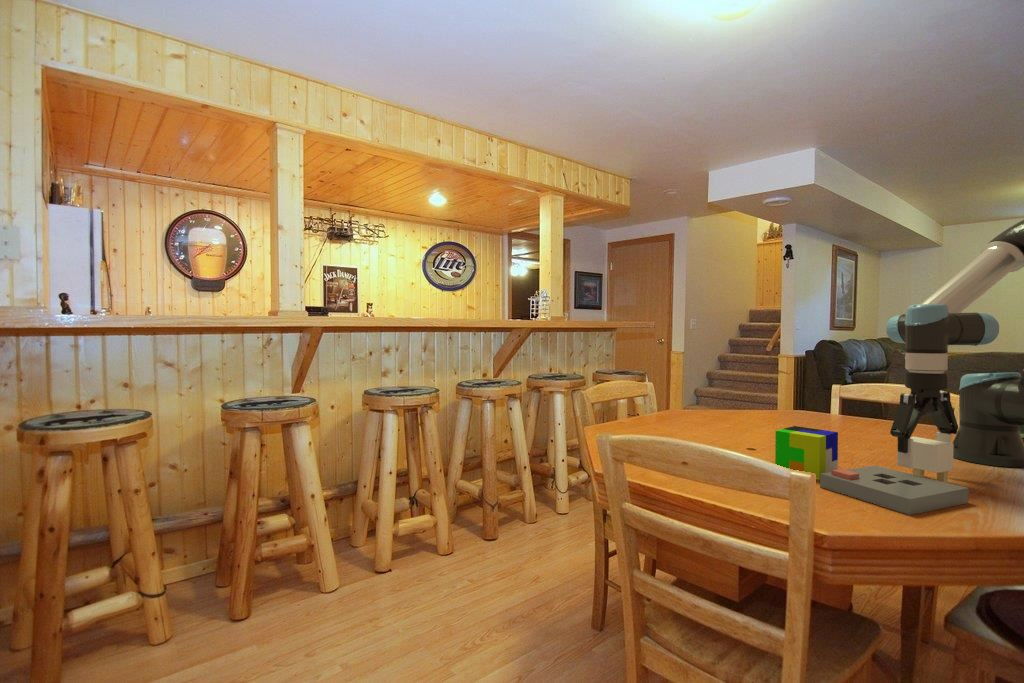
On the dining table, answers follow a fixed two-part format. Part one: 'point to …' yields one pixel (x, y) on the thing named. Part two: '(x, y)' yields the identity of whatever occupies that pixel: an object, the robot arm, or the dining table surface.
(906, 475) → the socket plate
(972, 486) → the dining table surface
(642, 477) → the dining table surface
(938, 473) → the plug
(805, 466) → the puzzle toy
